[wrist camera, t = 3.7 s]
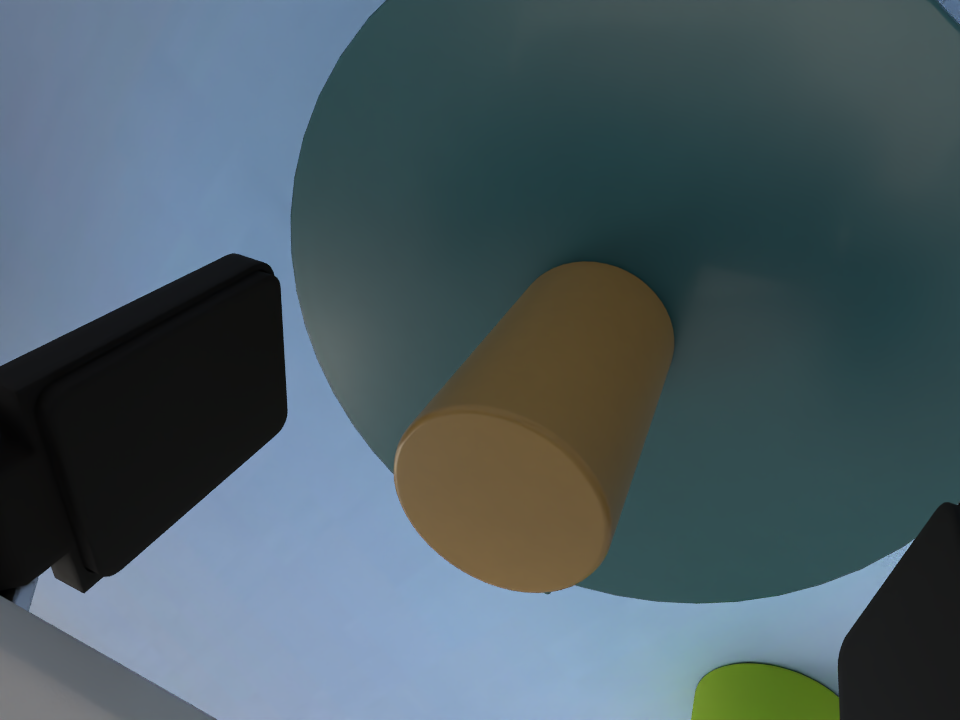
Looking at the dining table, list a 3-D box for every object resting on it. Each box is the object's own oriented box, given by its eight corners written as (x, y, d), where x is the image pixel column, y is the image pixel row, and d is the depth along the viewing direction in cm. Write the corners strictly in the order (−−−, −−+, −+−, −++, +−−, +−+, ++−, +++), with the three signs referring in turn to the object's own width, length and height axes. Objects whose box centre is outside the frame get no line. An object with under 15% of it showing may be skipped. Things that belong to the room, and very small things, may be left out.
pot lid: (307, 424, 19) (130, 587, 14) (347, -185, 11) (-26, -312, 6) (788, 652, 16) (782, 963, 11) (1311, 38, 8) (2134, 147, 3)
